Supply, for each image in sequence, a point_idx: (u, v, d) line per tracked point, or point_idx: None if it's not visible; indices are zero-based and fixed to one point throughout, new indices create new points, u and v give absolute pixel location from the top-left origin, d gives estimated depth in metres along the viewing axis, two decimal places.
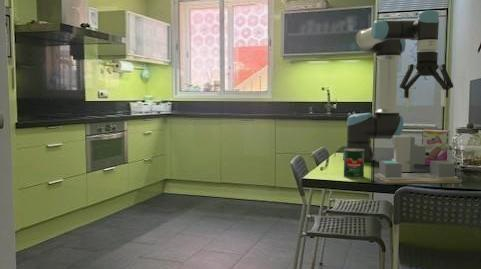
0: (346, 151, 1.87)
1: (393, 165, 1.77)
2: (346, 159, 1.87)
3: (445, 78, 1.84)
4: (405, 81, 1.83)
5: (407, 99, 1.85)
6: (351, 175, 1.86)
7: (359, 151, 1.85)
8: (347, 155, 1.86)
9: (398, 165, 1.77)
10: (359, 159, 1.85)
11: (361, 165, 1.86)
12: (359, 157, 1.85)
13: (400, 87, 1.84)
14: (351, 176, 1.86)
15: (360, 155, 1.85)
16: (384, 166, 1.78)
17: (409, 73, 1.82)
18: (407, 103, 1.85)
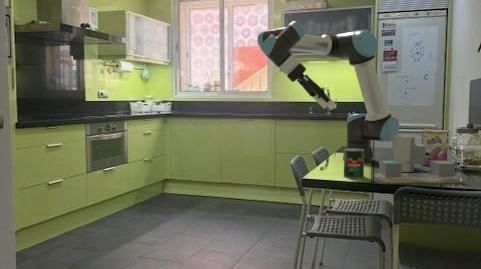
0: (346, 151, 1.87)
1: (393, 165, 1.77)
2: (346, 159, 1.87)
3: None
4: (307, 91, 1.94)
5: None
6: (351, 175, 1.86)
7: (359, 151, 1.85)
8: (347, 155, 1.86)
9: (398, 165, 1.77)
10: (359, 159, 1.85)
11: (361, 165, 1.86)
12: (359, 157, 1.85)
13: None
14: (351, 176, 1.86)
15: (360, 155, 1.85)
16: (384, 166, 1.78)
17: (302, 86, 1.93)
18: None
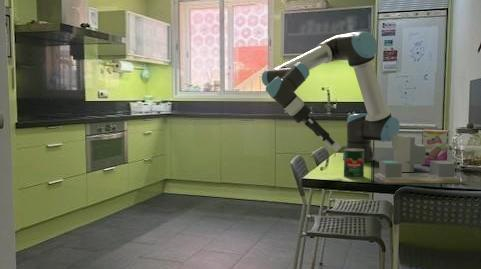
0: (346, 151, 1.87)
1: (393, 165, 1.77)
2: (346, 159, 1.87)
3: None
4: (312, 130, 1.96)
5: None
6: (351, 175, 1.86)
7: (359, 151, 1.85)
8: (347, 155, 1.86)
9: (398, 165, 1.77)
10: (359, 159, 1.85)
11: (361, 165, 1.86)
12: (359, 157, 1.85)
13: None
14: (351, 176, 1.86)
15: (360, 155, 1.85)
16: (384, 166, 1.78)
17: None
18: None
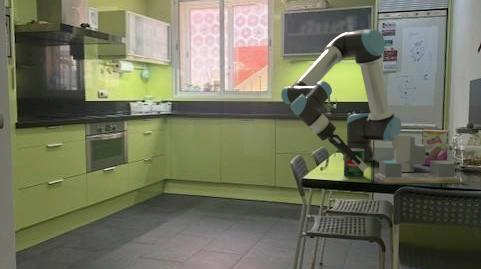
0: None
1: (393, 165, 1.77)
2: (346, 159, 1.87)
3: None
4: (339, 150, 1.95)
5: None
6: (351, 175, 1.86)
7: (359, 151, 1.85)
8: None
9: (398, 165, 1.77)
10: None
11: None
12: (359, 157, 1.85)
13: None
14: (351, 176, 1.86)
15: (360, 155, 1.85)
16: (384, 166, 1.78)
17: None
18: None
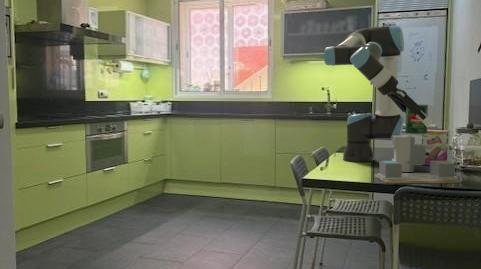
0: None
1: (393, 165, 1.77)
2: (409, 115, 1.77)
3: None
4: (399, 107, 1.86)
5: None
6: (414, 131, 1.76)
7: (423, 106, 1.75)
8: (410, 110, 1.77)
9: (398, 165, 1.77)
10: None
11: None
12: (423, 112, 1.75)
13: None
14: (414, 132, 1.76)
15: (424, 110, 1.75)
16: (384, 166, 1.78)
17: (393, 101, 1.85)
18: None
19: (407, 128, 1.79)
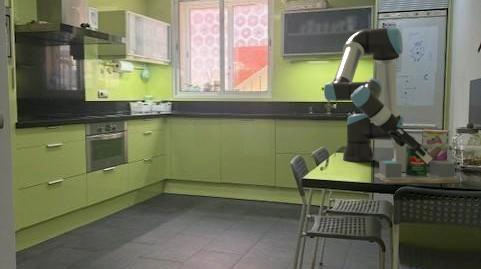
0: (409, 148, 1.78)
1: (393, 165, 1.77)
2: (409, 157, 1.79)
3: None
4: (395, 140, 1.89)
5: None
6: (414, 173, 1.78)
7: (423, 148, 1.77)
8: (410, 153, 1.78)
9: (398, 165, 1.77)
10: None
11: (425, 163, 1.78)
12: None
13: None
14: (414, 175, 1.78)
15: None
16: (384, 166, 1.78)
17: (391, 135, 1.87)
18: None
19: (407, 170, 1.80)
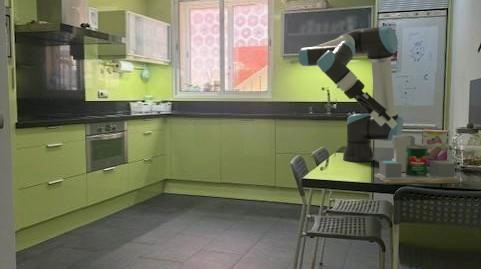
0: (409, 148, 1.78)
1: (393, 165, 1.77)
2: (409, 157, 1.79)
3: None
4: None
5: None
6: (414, 173, 1.78)
7: (423, 148, 1.77)
8: (410, 153, 1.78)
9: (398, 165, 1.77)
10: (423, 157, 1.77)
11: (425, 163, 1.77)
12: (423, 155, 1.77)
13: None
14: (414, 175, 1.78)
15: (424, 152, 1.77)
16: (384, 166, 1.78)
17: None
18: None
19: (407, 170, 1.80)
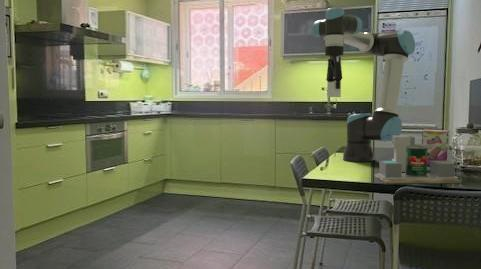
0: (409, 148, 1.78)
1: (393, 165, 1.77)
2: (409, 157, 1.79)
3: None
4: (327, 74, 2.06)
5: None
6: (414, 173, 1.78)
7: (423, 148, 1.77)
8: (410, 153, 1.78)
9: (398, 165, 1.77)
10: (423, 157, 1.77)
11: (425, 163, 1.78)
12: (423, 155, 1.77)
13: None
14: (414, 175, 1.78)
15: (424, 152, 1.77)
16: (384, 166, 1.78)
17: None
18: None
19: (407, 170, 1.80)
